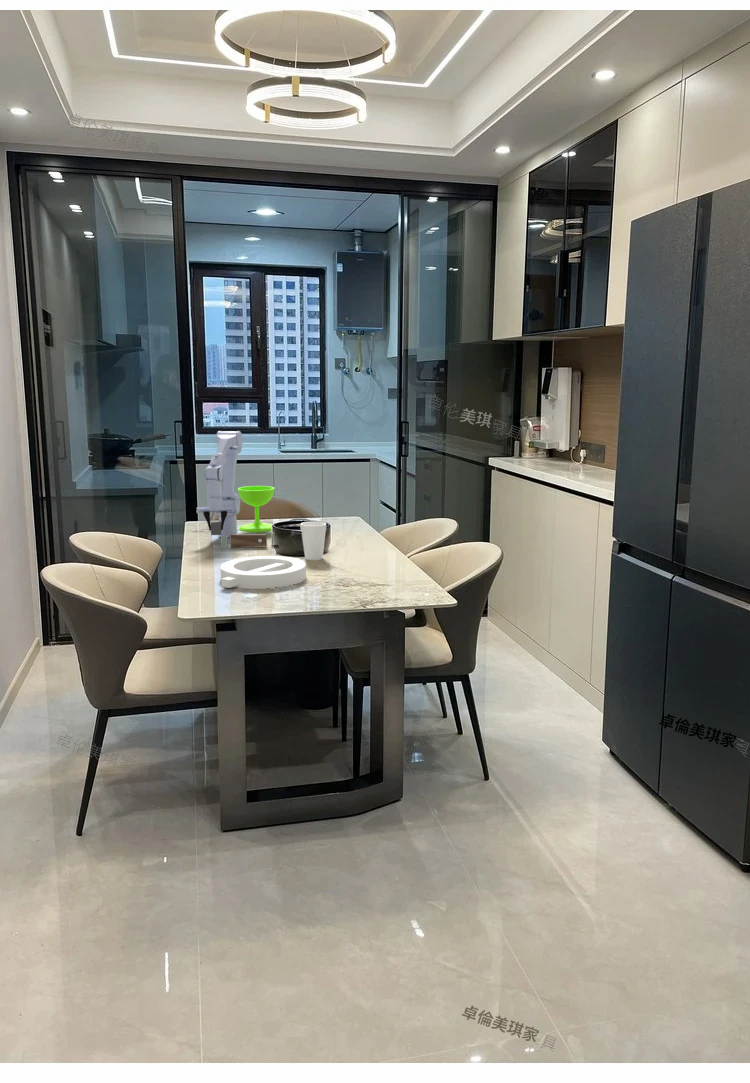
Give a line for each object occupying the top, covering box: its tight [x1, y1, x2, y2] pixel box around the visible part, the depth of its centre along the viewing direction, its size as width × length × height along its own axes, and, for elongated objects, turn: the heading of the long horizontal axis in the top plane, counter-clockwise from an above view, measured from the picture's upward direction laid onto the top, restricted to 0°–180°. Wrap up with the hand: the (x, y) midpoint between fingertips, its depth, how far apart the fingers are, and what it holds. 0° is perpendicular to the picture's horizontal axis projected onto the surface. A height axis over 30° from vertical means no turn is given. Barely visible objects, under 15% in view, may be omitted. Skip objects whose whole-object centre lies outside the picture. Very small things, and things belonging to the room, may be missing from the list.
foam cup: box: [300, 521, 327, 561], centre depth 292 cm, size 10×9×13 cm
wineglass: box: [237, 485, 275, 533], centre depth 349 cm, size 16×16×18 cm
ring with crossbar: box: [220, 555, 307, 590], centre depth 264 cm, size 28×28×5 cm
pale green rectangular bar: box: [220, 533, 274, 549], centre depth 313 cm, size 2×22×4 cm, turn 102°
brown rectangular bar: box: [229, 533, 268, 548], centre depth 311 cm, size 3×14×5 cm, turn 94°
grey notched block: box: [210, 520, 221, 536], centre depth 321 cm, size 8×4×5 cm, turn 11°
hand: (216, 529), depth 319 cm, fingers closed on grey notched block, 4 cm apart
